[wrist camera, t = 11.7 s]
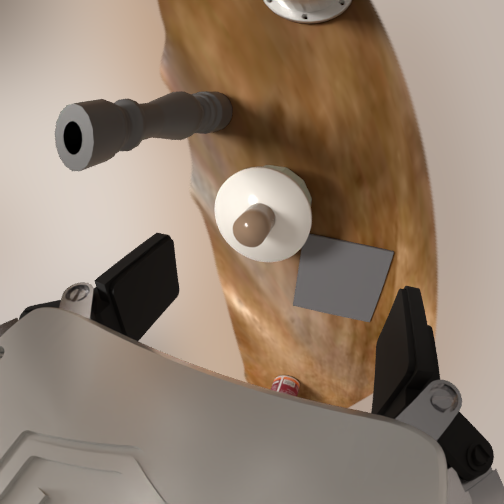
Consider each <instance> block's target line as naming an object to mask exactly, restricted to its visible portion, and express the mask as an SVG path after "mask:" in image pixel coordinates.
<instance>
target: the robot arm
mask: <svg viewBox="0 0 504 504" xmlns="http://www.w3.org/2000/svg"><path fill="white" fill-rule="evenodd" d="M270 1H272V2H271V3H270ZM351 1H352V0H264V2H265V4H266V5H267V6H268V7H269V8H270V9H271V10H272V11H273V12H274V13H276V14H277V15H279V16H281V17H282V18H285V19H287V20H290V21H294V22H298V23H308V24H309V23H320V22H325V21H328V20H331V19H333V18H335V17H337V16H339V15H340V14H342V13H343V12H344V11H345V10H346V9H347V8H348V6H349V5H350V4H351ZM342 3H343V4H344V5H341V4H342ZM305 17H307V19H304V18H305ZM95 284H96V288H94V289H93V287H92V285H91V284H89V283H84V282H83V283H77V284H74V285H72V286H70V287H68V288H67V289H66V290H65V291H64V293H63V295H62V298H61V300H58V301H53V302H48V303H43V304H38V305H34V306H30V307H27V308H26V309H25V310H24V311H23V313H22V314H21V315H20V318H19V320H18V318H15V319H13V320H11V321H8V322H6V323H4V324H2V325H0V504H504V486H503V484H502V481H501V479H500V477H499V475H498V472H497V470H496V469H495V470H492V468H491V465H492V463H493V458H494V456H493V450H492V446H491V445H490V443H489V442H488V441H487V440H486V439H485V438H484V437H483V436H482V435H481V434H480V433H479V432H478V430H476V428H475V427H473V425H472V424H471V423H470V422H469V421H468V420H467V419H466V418H465V417H464V416H463V415H462V414H461V413H460V412H459V410H460V408H461V406H462V398H461V394H460V392H459V390H458V389H457V388H456V386H455V385H453V384H452V383H450V382H448V381H445V380H440V374H439V367H438V359H437V353H436V347H435V341H434V335H433V330H432V327H431V326H429V325H427V320H426V315H425V310H424V305H423V301H422V296H421V292H420V289H419V288H414V287H409V286H405V287H404V289H399V291H398V293H397V296H396V299H395V301H394V304H393V306H392V308H391V311H390V313H389V316H388V318H387V320H386V323H385V325H384V327H383V329H382V332H381V334H380V336H379V338H378V341H377V345H376V364H375V380H374V393H373V403H372V413H367V412H363V411H359V410H353V409H348V408H343V407H339V406H334V405H329V404H325V403H321V402H317V401H312V400H308V399H304V398H300V397H296V396H292V395H288V394H284V393H280V392H277V391H273V390H270V389H266V388H263V387H259V386H256V385H253V384H249V383H246V382H243V381H240V380H236V379H234V378H231V377H228V376H224V375H222V374H219V373H216V372H213V371H210V370H207V369H205V368H202V367H199V366H196V365H194V364H191V363H189V362H186V361H183V360H180V359H178V358H176V357H173V356H171V355H168V354H166V353H163V352H161V351H158V350H156V349H154V348H152V347H149V346H147V345H145V344H142V343H140V342H138V341H139V339H141V337H142V336H143V335H144V334H145V333H146V331H147V330H148V329H149V328H150V327H151V326H152V325H153V323H154V322H155V321H156V320H157V319H158V318H159V317H160V316H161V314H162V313H163V312H164V311H165V310H166V309H167V308H168V306H169V305H170V304H171V303H172V302H173V301H174V300H175V298H177V296H178V294H179V283H178V276H177V268H176V259H175V250H174V242H173V240H172V239H171V237H170V236H169V235H166V234H161V233H156V234H154V235H153V236H152V237H150V238H149V239H147V240H146V241H145V242H143V243H142V244H141V245H139V246H138V247H137V248H135V249H134V250H133V251H132V252H130V253H129V254H128V255H126V256H125V257H124V258H122V259H121V260H120V261H119V262H117V263H116V264H115V265H113V266H112V267H111V268H110V269H108V270H107V271H106V272H105V273H103V274H102V275H101V276H100V277H98V278H97V279H96V280H95Z"/></svg>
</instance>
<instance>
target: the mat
mask: <svg viewBox="0 0 504 504" xmlns="http://www.w3.org/2000/svg"><path fill="white" fill-rule="evenodd" d="M393 253H394V251H390V250H386V249H381V248H376V247H372V246H367V245H363V244H358V243H353V242H348V241H344V240H339V239H334V238H329V237H324V236H319V235H314V234H309V235H308V238H307V240H306V242H305V244H304V245H303V246H302V249H301V256H300V263H299V270H298V277H297V283H296V289H295V296H294V302H293V306H298V307H302V308H306V309H311V310H315V311H319V312H324V313H329V314H333V315H338V316H342V317H347V318H352V319H357V320H361V321H366V322H370V320H371V317H372V315H373V312H374V309H375V307H376V304H377V301H378V299H379V296H380V293H381V290H382V287H383V284H384V281H385V278H386V275H387V272H388V269H389V266H390V263H391V260H392V257H393Z"/></svg>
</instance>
